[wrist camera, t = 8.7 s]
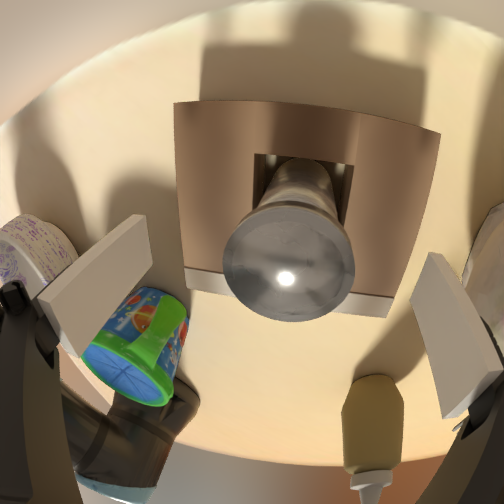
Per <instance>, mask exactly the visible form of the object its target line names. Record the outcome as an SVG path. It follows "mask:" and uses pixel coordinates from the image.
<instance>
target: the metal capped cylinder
mask: <svg viewBox="0 0 504 504" xmlns="http://www.w3.org/2000/svg"><path fill="white" fill-rule="evenodd" d="M222 265H223V272H224V276H225V279H226V282H227V284H228V286H229V288H230V289H231V291H232V292H233V294H234V295H235V296H236V297H237V298H238V300H239V301H240V302H242V303H243V304H244V305H245V306H246V307H248V308H249V309H251V310H252V311H254V312H256V313H258V314H260V315H262V316H264V317H267V318H270V319H274V320H279V321H286V322H301V321H308V320H312V319H316V318H319V317H321V316H323V315H326V314H327V313H329V312H331V311H332V310H334V309H335V308H336V307H338V306H339V305H340V304H341V303H342V302H343V301H344V299H345V298H346V297H347V295H348V294H349V292H350V290H351V288H352V285H353V283H354V278H355V261H354V255H353V250H352V246H351V242H350V239H349V237H348V235H347V233H346V231H345V230H344V228H343V226H342V225H341V224H340V223H339V222H338V216H337V210H336V205H335V199H334V193H333V188H332V183H331V179H330V176H329V174H328V172H327V171H326V169H325V168H324V167H323V166H322V165H320V164H319V163H318V162H316V161H314V160H311V159H307V158H295V159H291V160H289V161H287V162H285V163H284V164H282V165H281V166H280V167H279V168H278V170H277V171H276V173H275V175H274V177H273V179H272V180H271V182H270V184H269V186H268V188H267V190H266V192H265V194H264V196H263V197H262V199H261V201H260V203H259V205H258V207H257V208H256V209H254V210H252V211H251V212H250V213H248V214H247V215H246V216H245V217H244V218H243V219H242V220H241V221H240V222H239V224H238V225H237V226H236V228H235V230H234V231H233V233H232V235H231V237H230V238H229V240H228V242H227V244H226V246H225V249H224V253H223V262H222Z"/></svg>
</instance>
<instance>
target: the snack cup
mask: <svg viewBox="0 0 504 504" xmlns="http://www.w3.org/2000/svg"><path fill="white" fill-rule="evenodd" d="M188 326H189V319H188V318H187V312H186V309H185V307H184V306H183V305H182V303H181V302H179V301H178V300H176V298H175V297H173V296H171V295H168V294H166V293H164V292H162V291H160V290H157V289H154V288H147V287H142V288H140V289H139V290H137V291H135V292H134V293H132V294H131V295H130V296H129V297H127V298H126V299H125V300H124V301H123V302H122V303H121V304H120V305H119V306H118V308H117V309H116V310H115V311H114V313H113V314H112V315H111V317H110V318H109V319H108V320H107V322H106V323H105V324H104V326H103V327H102V328H101V330H100V331H99V332H98V334H97V335H96V336H95V338H94V339H93V340H92V342H91V343H90V344H89V346H88V347H87V348H86V350H85V351H84V353H83V354H82V355H81V359H82V360H83V362H84V363H85V364H86V366H87V367H88V368H89V369H90V370H91V371H92V372H93V373H94V374H95V375H96V376H97V377H98V378H99V379H100V380H101V381H103V382H104V383H105V384H106V385H108V386H109V387H111V388H112V389H113V390H115V391H117V392H118V393H120V394H122V395H124V396H126V397H127V398H129V399H132V400H134V401H136V402H139V403H142V404H145V405H150V406H164V405H166V404H167V403H168V401H169V400H170V398H171V397H172V396H173V393H174V387H173V379H174V376H175V373H176V369H177V366H178V362H179V359H180V355H181V351H182V347H183V345H184V342H185V338H186V335H187V332H188Z"/></svg>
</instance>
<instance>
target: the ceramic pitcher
mask: <svg viewBox="0 0 504 504" xmlns="http://www.w3.org/2000/svg"><path fill="white" fill-rule="evenodd" d="M462 285H463V288H464V289H465V291H466V293H467V295H468V296H469V298H470V300H471V302H472V303H473V305H474V307H475V309H476V311H477V312H478V314H479V316H480V317H482V318H483V319H484V320H485V322H486V323H487V324H488V325H489V327H490V329H491V331H492V333H493V335H494V336H493V337H495V339H496V341H497V345H499V347H500V350H501V352H502V354H503V356H504V202H503V203H501V204H499V205H497V206H495V207H493V208H491V210H490V212H489V214H488V216H487V218H486V220H485V222H484V223H483V225H482V227H481V229H480V231H479V233H478V235H477V238H476V240H475V242H474V245H473V248H472V250H471V253H470V256H469V259H468V261H467V264H466V266H465V270H464V272H463V275H462Z"/></svg>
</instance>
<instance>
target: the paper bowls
mask: <svg viewBox="0 0 504 504" xmlns="http://www.w3.org/2000/svg"><path fill="white" fill-rule="evenodd" d="M78 258H79V256H78V254H77V252H76V250H75V248H74V246H73V245H72V243H71V242H70V240H69V239H68V238H67V236H66V235H65V234H64V233H63V232H62V231H61V230H60V229H59V228H57V227H56V226H55V225H53V224H51V223H49V222H44V221H41V220H40V219H39V218H37V217H35V216H33V215H31V214H21V215H19V216H17V217H16V218H14V219H13V220H11V221H10V222H8V223H7V224H6V225H4V226H3V227H2V228H0V279H1V281H2V283H3V285H5V284H6V283H8V282H10V281H12V280H21V281H22V282H23V284H24V286H25V288H26V291H27V293H28V295H29V297H30V299H31V300H32V299H33V298H34V297H35V296H36V295H37V294H38V293H39V292H40V291H41V290H42V289H43V288H44V287H45V286H46V285H47V284H48V283H49V282H50V281H52V280H54V278H55V277H56V276H57V275H58V274H60V272H61V271H62V270H63V269H65V268H66V267H67V266H68V265H70V264H72V263H74V262H75V261H76V260H77V259H78Z"/></svg>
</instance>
